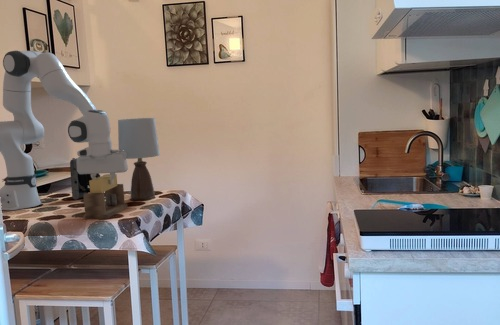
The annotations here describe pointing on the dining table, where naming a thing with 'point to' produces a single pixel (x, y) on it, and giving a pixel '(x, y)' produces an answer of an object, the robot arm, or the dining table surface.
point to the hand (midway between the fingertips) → (103, 184)
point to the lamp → (139, 152)
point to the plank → (102, 184)
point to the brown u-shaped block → (97, 206)
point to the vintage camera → (79, 181)
